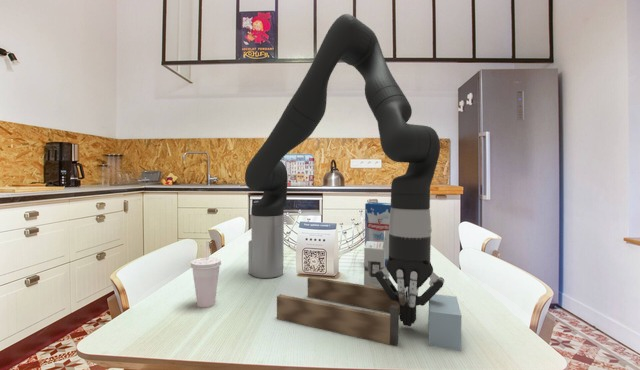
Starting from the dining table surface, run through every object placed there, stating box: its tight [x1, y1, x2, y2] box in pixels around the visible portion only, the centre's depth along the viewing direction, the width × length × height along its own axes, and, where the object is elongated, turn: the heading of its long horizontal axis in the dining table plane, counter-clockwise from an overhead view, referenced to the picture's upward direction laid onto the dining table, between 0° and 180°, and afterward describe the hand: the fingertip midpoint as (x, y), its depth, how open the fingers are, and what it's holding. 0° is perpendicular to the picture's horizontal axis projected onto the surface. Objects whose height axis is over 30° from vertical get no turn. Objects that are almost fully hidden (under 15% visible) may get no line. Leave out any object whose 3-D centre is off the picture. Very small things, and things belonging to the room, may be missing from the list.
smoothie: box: [190, 240, 222, 308], centre depth 73 cm, size 6×6×14 cm
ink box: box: [363, 231, 385, 288], centre depth 82 cm, size 9×5×15 cm, turn 168°
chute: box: [276, 276, 409, 347], centre depth 68 cm, size 24×14×6 cm, turn 64°
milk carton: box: [364, 201, 391, 267], centre depth 105 cm, size 10×6×20 cm, turn 58°
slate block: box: [427, 293, 462, 351], centre depth 60 cm, size 5×9×6 cm, turn 162°
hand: (407, 324), depth 62 cm, fingers closed
